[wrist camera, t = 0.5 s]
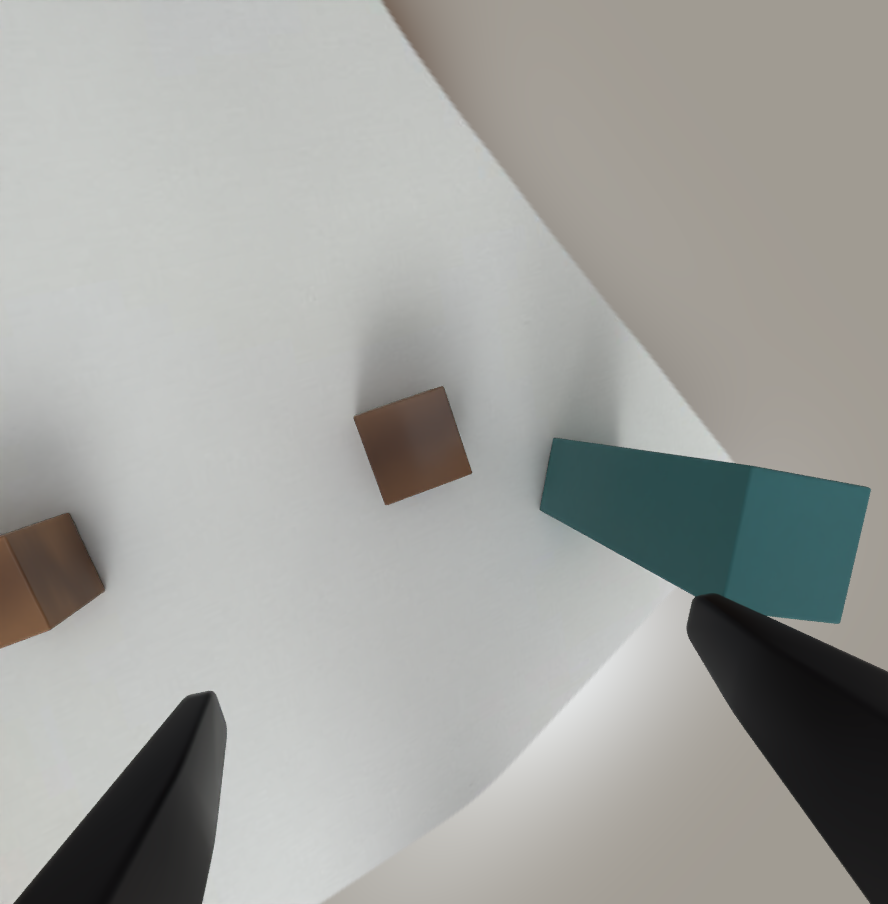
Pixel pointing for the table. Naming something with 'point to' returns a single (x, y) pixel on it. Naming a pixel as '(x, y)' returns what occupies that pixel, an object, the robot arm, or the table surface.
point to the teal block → (714, 524)
